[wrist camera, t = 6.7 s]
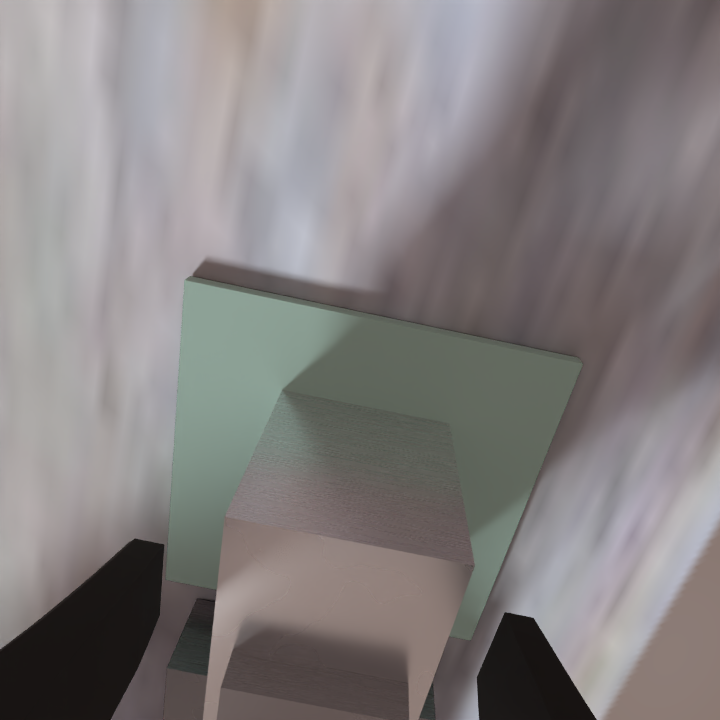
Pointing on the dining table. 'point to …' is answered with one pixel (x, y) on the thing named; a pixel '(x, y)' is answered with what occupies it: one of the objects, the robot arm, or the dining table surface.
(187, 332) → the mat
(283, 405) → the lever cap
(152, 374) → the dining table surface
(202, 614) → the hand plane
